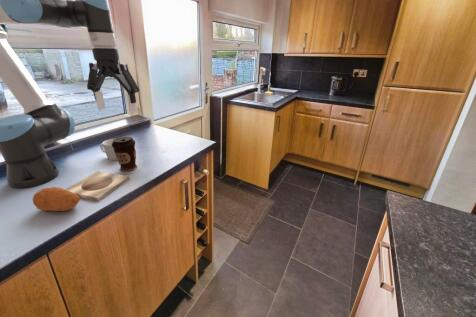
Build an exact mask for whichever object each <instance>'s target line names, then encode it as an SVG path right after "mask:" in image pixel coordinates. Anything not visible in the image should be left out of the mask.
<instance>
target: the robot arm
mask: <svg viewBox="0 0 476 317" xmlns="http://www.w3.org/2000/svg"><path fill="white" fill-rule="evenodd" d="M9 24H11V25H12V24H13V25H14V24H25V25H26V24H40V25H41V24H42V25H51V26H56V27H60V28H86V29H87V33H88V37H89V43H90V45H91V47H93V48H92V49H91V51H92V56H93V59H94V60H95V61H96V62H89V63H88V68H89V70H88V71H89V72H88V78H87V79H88V80H87V85H86V87H87V88H86V89H87V90H90V91H92V92H93V97H94V99H95V101H96V106H97V109H98V111H101V110H105V109H106V104H105V99H104V95H103V91H102V90H101V88H102V86H103V84H104V81H105V80H106V78H113V79H115V80H116V81H117V82H118V83H119V84H120V86H121V87H122V88H123V89H124V90H125V91H126V93H127V94H126V100H127V106H128V110H129V114H132V113H136V112H137V106H136V103H137V98H136V93H139V92H140V88H139V87H138V85H137V83H136V81H135V79H134V77H133V75H132V74H131V72H130V71H129V67H128V63H119V59H120V57H119V52H118V49H117V48H116V47H117V40H116V37H115V32H114V26H113V21H112V12H111V8H110V4H109V0H0V79H1V81H2V82H3V83H4V85H5V86H6V87H7V88H8V90H9V92H11V94H12V95H13V97H14V98H15V99H16V101H17V103H19V105H20V106H21V108H22V109H23V113H22V114H16V115H12V116H6V117H4V118H0V153H1V155H2V157H3V160H4V162H5V165H6V181H7V184H8V186H9V187H11V188H13V189H26V188H31V187H32V188H33V187H36V186H41V185H42V184H45V183H47V182H50V181H52V180H53V179H55V178H56V177H57V176H59V173H60V171H59V169H58V166H57V165H56V164H55V163H54V162H53V161H52V160H51V159H50V157H49V156H48V154H47V152H46V149H45V147H46V146H49V145H50V144H54V143H56V142H58V141H62V140H64V139H66V138H67V137H69V136H71V135H73V134H74V132H75V128H76V122H75V119H74V117H73V114H71V113H70V112H69V111H68V110H66V109H64V108H59V106H58V105H57V104H56V102H52V101H50V100H49V99H48V97H46V95H45V93H44V92H43V91H42V89H41V88H40V87H39V86H38V84H37V82H36V81H35V79H34V78H33V77H32V76H31V74H30V72H29V71H28V69H27V68H26V67H25V65H24V64H23V62H22V61H21V60H20V58H19V57H18V55H17V54H16V53H15V52H14V49H13V48H12V47H11V46H10V44H9V43H8V39H9V35H8V32H9V27H8V25H9Z"/></svg>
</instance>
